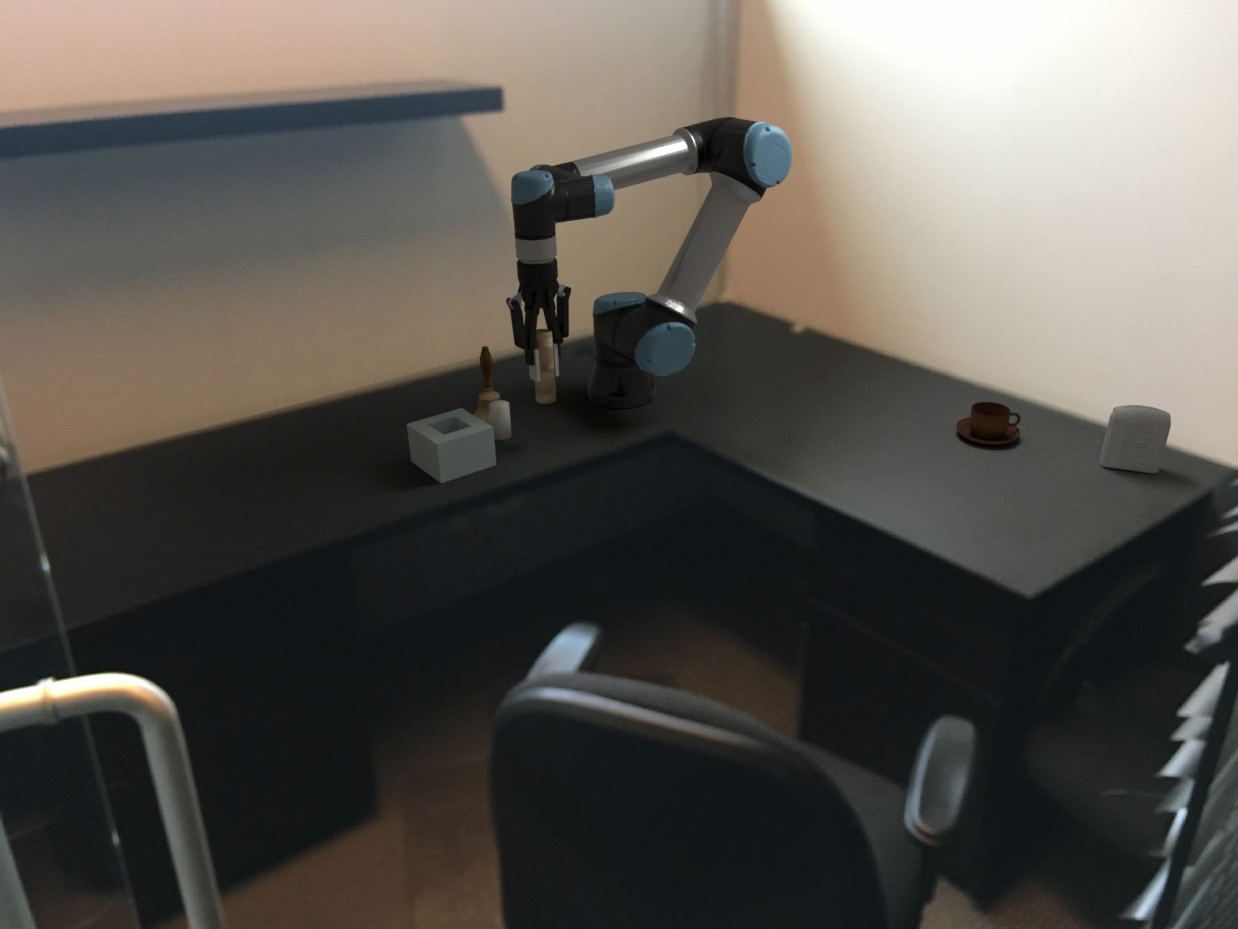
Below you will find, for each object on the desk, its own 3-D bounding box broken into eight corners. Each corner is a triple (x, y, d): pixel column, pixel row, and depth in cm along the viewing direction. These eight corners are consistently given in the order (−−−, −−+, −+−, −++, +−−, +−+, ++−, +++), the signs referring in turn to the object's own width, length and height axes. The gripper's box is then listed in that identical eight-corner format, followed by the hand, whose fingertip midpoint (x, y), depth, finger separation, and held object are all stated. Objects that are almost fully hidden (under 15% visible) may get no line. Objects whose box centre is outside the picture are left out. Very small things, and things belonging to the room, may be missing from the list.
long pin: (548, 394, 199) (544, 327, 193) (560, 400, 196) (556, 332, 190) (532, 399, 197) (526, 331, 191) (543, 405, 194) (538, 337, 188)
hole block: (465, 444, 201) (461, 407, 197) (496, 465, 192) (493, 427, 188) (411, 461, 194) (406, 423, 190) (441, 483, 185) (437, 444, 182)
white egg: (504, 429, 207) (502, 398, 204) (515, 436, 204) (512, 404, 201) (488, 435, 205) (485, 403, 201) (498, 441, 202) (495, 409, 199)
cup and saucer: (991, 421, 207) (996, 393, 204) (1031, 444, 197) (1036, 415, 194) (942, 430, 203) (946, 402, 201) (981, 454, 193) (985, 425, 190)
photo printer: (1157, 466, 187) (1172, 405, 181) (1160, 476, 183) (1176, 414, 178) (1097, 458, 190) (1111, 398, 185) (1099, 468, 187) (1113, 407, 181)
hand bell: (463, 422, 211) (457, 350, 204) (486, 408, 217) (480, 338, 210) (496, 429, 207) (490, 356, 200) (518, 414, 214) (513, 344, 207)
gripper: (562, 246, 191) (568, 361, 202) (487, 262, 182) (497, 382, 193) (585, 254, 186) (590, 371, 196) (509, 271, 177) (518, 393, 187)
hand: (544, 376), depth 194 cm, fingers closed on long pin, 4 cm apart
